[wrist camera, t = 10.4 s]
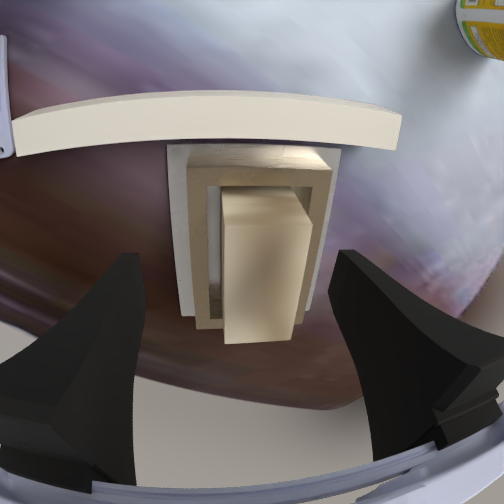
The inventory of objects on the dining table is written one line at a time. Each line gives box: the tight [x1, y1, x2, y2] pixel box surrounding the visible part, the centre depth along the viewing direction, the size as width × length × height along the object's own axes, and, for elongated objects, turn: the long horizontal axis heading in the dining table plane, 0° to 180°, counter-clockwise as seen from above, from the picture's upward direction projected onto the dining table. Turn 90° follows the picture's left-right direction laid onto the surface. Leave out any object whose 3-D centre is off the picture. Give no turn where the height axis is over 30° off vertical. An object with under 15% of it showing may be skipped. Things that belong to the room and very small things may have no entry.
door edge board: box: [12, 90, 402, 157], centre depth 14 cm, size 20×2×3 cm, turn 87°
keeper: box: [167, 142, 341, 329], centre depth 20 cm, size 10×13×2 cm
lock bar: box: [220, 186, 313, 344], centre depth 18 cm, size 4×8×5 cm, turn 177°
